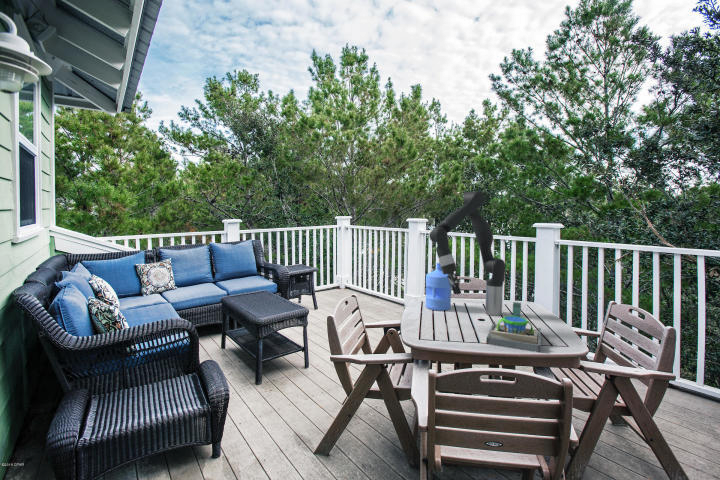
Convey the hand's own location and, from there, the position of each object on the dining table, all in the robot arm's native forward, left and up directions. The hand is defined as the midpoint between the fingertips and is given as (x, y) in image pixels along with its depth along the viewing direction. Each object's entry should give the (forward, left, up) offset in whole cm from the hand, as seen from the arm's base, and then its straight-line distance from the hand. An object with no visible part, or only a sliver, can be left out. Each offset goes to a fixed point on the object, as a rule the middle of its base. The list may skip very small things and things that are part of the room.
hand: (457, 293), depth 189 cm
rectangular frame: (+4, +28, -18) cm, 34 cm away
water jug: (-34, -19, -18) cm, 43 cm away
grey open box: (+4, +28, -18) cm, 34 cm away
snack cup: (+6, +28, -18) cm, 34 cm away
